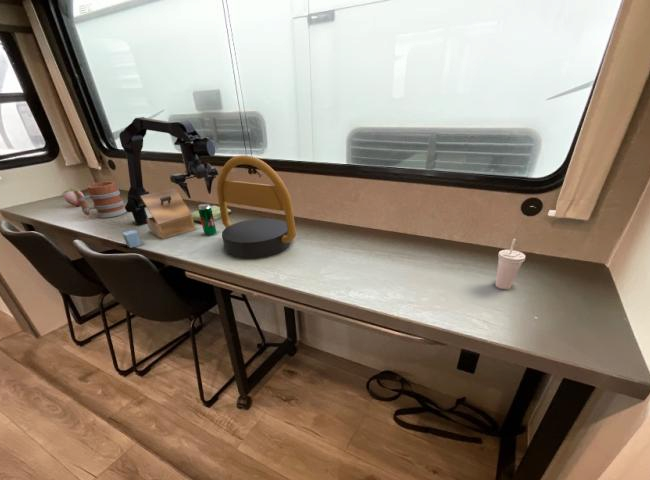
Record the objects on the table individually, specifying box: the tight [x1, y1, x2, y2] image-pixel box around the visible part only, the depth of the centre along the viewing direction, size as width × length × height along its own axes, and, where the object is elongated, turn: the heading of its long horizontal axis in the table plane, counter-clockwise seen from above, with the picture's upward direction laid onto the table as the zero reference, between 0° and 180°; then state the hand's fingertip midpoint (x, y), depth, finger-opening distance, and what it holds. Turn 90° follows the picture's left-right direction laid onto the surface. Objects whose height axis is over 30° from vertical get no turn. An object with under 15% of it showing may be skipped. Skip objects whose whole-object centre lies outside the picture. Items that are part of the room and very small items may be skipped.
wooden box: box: [146, 216, 196, 240], centre depth 142 cm, size 14×15×6 cm
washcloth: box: [191, 205, 232, 223], centre depth 157 cm, size 13×18×3 cm
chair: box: [216, 155, 297, 260], centre depth 117 cm, size 25×35×32 cm
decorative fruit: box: [61, 187, 85, 207], centre depth 183 cm, size 9×8×10 cm
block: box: [122, 229, 143, 249], centre depth 130 cm, size 4×4×5 cm
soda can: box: [197, 203, 217, 236], centre depth 135 cm, size 5×5×12 cm
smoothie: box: [495, 238, 526, 290], centre depth 89 cm, size 6×6×14 cm
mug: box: [74, 180, 128, 219], centre depth 164 cm, size 14×19×15 cm
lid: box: [140, 187, 192, 225], centre depth 136 cm, size 14×15×4 cm
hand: (199, 196), depth 140 cm, fingers open, 9 cm apart
